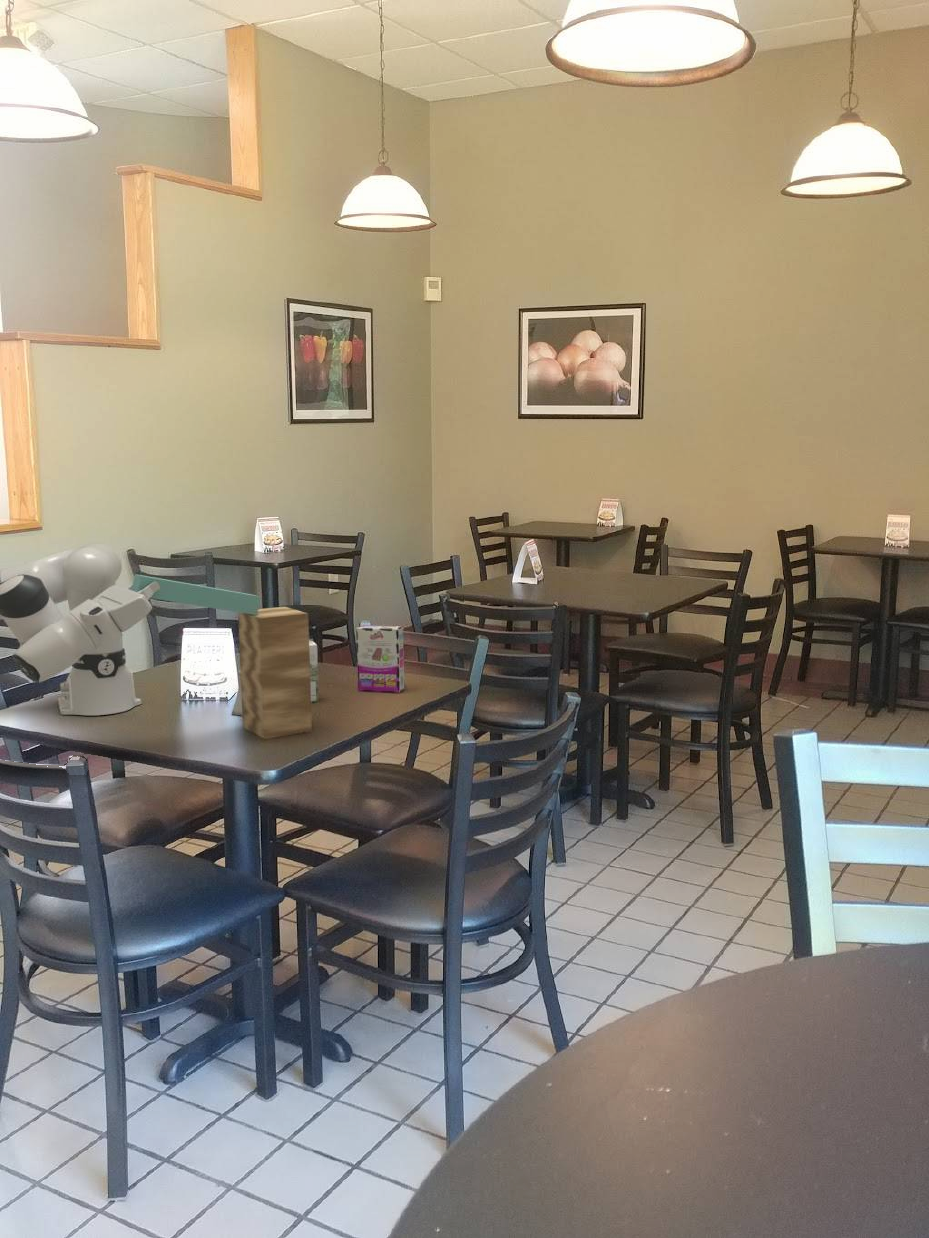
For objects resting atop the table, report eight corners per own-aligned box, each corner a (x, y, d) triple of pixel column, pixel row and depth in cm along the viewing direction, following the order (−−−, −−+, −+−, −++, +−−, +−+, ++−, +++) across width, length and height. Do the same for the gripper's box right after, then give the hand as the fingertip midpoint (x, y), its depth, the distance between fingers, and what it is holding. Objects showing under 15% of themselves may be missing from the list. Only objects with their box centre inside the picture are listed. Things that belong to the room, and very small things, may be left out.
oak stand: (242, 727, 242) (238, 611, 237) (288, 719, 248) (284, 606, 244) (264, 739, 232) (260, 618, 228) (311, 731, 238) (308, 613, 234)
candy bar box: (405, 689, 278) (404, 625, 275) (399, 693, 273) (398, 629, 270) (363, 687, 280) (362, 624, 278) (357, 691, 276) (355, 627, 273)
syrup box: (311, 697, 270) (309, 639, 268) (319, 702, 265) (317, 643, 262) (289, 699, 267) (287, 641, 265) (296, 704, 262) (294, 645, 260)
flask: (255, 717, 251) (254, 674, 249) (226, 715, 252) (224, 673, 250) (267, 709, 258) (266, 668, 256) (238, 708, 259) (237, 667, 257)
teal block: (131, 593, 220) (134, 574, 220) (249, 613, 235) (253, 594, 235) (137, 595, 217) (141, 576, 217) (257, 615, 231) (260, 596, 231)
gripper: (89, 627, 225) (145, 590, 230) (118, 642, 208) (178, 601, 213) (72, 602, 222) (129, 565, 227) (100, 615, 205) (161, 574, 211)
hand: (153, 582), depth 220 cm, fingers closed on teal block, 4 cm apart
